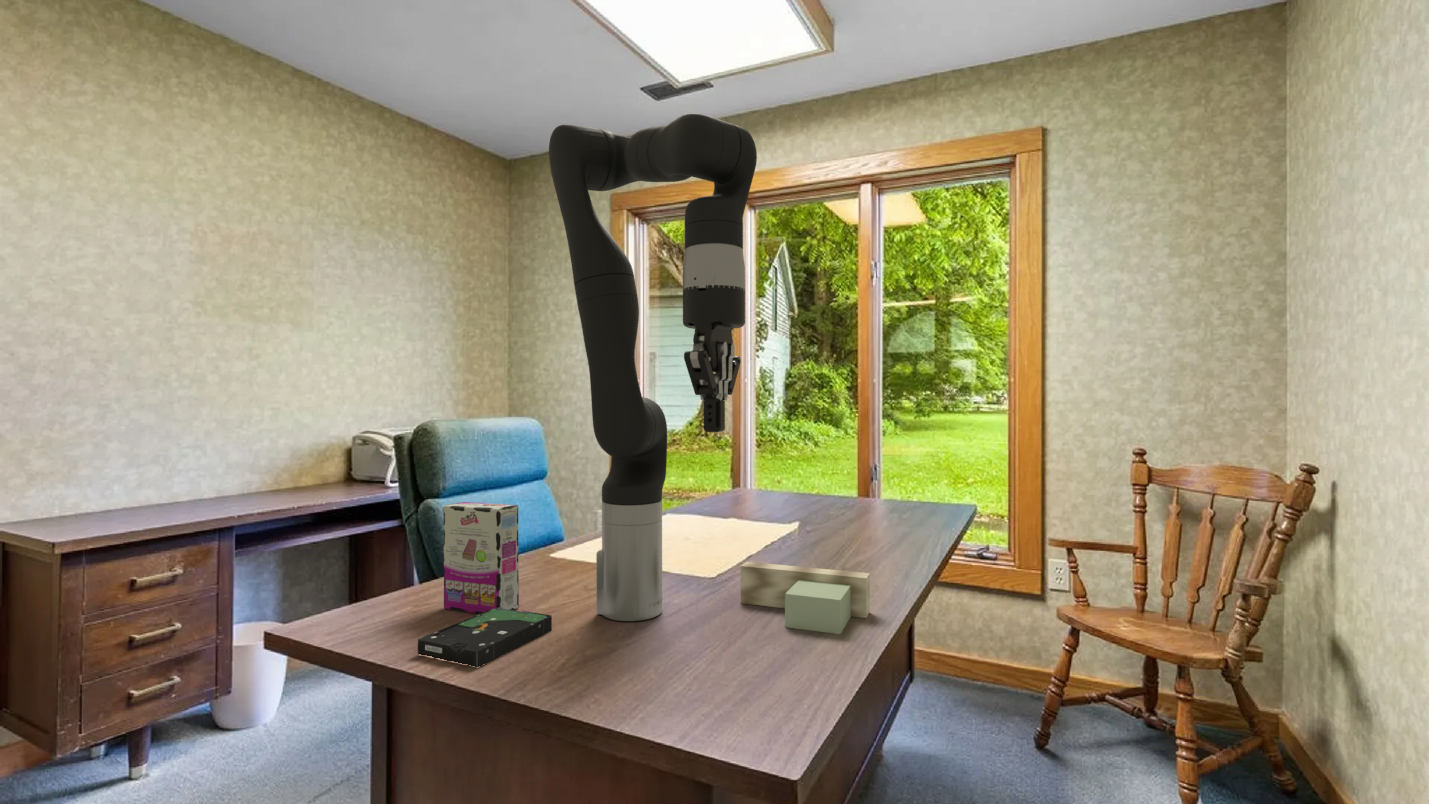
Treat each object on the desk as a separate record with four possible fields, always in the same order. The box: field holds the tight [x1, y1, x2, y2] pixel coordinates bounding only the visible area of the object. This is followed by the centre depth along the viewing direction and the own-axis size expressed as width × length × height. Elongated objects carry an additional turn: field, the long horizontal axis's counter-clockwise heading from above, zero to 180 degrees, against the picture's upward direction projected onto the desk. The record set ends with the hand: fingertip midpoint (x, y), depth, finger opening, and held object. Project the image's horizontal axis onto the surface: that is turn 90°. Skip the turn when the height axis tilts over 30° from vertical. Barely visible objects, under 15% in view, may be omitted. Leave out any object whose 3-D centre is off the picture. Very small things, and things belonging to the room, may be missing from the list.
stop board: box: [740, 561, 871, 619], centre depth 105 cm, size 20×3×6 cm, turn 68°
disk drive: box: [417, 607, 553, 667], centre depth 90 cm, size 10×3×15 cm
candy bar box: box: [442, 501, 520, 615], centre depth 104 cm, size 11×5×16 cm, turn 68°
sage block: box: [784, 580, 852, 635], centre depth 98 cm, size 8×8×5 cm
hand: (714, 431), depth 80 cm, fingers closed
